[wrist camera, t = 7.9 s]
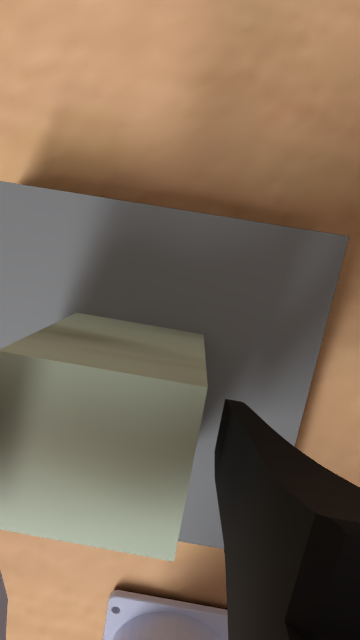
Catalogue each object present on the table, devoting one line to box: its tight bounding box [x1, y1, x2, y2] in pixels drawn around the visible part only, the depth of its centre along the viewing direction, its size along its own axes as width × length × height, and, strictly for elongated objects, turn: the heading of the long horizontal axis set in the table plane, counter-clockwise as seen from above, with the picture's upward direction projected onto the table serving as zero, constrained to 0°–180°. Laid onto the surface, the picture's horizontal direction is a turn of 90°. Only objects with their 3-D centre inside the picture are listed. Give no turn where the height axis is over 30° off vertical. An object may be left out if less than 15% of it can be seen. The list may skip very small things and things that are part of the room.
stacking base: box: [0, 181, 349, 549], centre depth 14 cm, size 14×14×3 cm
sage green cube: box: [0, 313, 208, 562], centre depth 10 cm, size 5×5×5 cm
